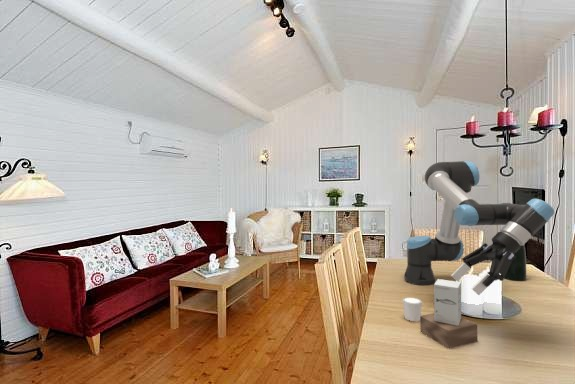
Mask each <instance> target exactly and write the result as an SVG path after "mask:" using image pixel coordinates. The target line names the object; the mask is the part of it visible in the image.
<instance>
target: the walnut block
mask: <svg viewBox="0 0 575 384" xmlns="http://www.w3.org/2000/svg"><path fill="white" fill-rule="evenodd" d="M419 325H420V328H419V329H420V333H421V332H422V333H421V334H423V335H425V336H426V335H427V337H428V338H430V339H431V338H432V340H433V341H435V342H437V343H438V344H440V345H442V346H443V345H444V347H445V348H446V349H448V348H449V350H450V349H454V348H458V347H461V346H466V345H470V344H474V343H477V342H478V341H479V339H478V324H477V323H476V322H473V321H471V320H468V319H466V318H464V317H462V316H461V320H460V323H459V326H455V325H451V324H447V323H442V322H437V321H434V313H429V314H428V313H427V314H424V315H423V314H422V315H421V316H420V321H419Z"/></svg>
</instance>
